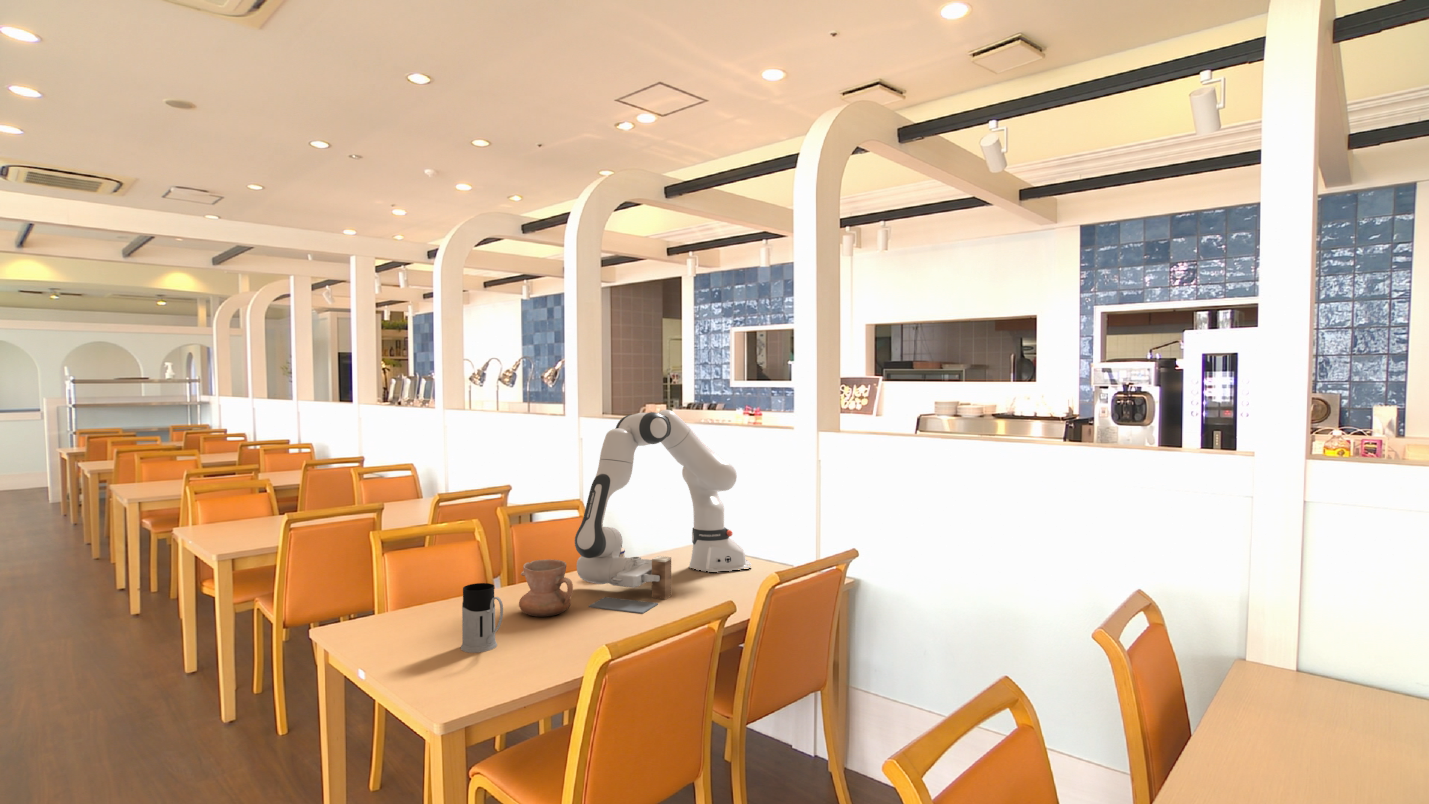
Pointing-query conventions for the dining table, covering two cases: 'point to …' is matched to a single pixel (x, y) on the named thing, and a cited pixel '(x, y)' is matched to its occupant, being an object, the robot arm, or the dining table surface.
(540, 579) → the ceramic jug
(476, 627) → the glass holder
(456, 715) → the dining table surface
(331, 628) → the dining table surface
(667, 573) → the walnut block
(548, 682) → the dining table surface
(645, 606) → the rubber mat
